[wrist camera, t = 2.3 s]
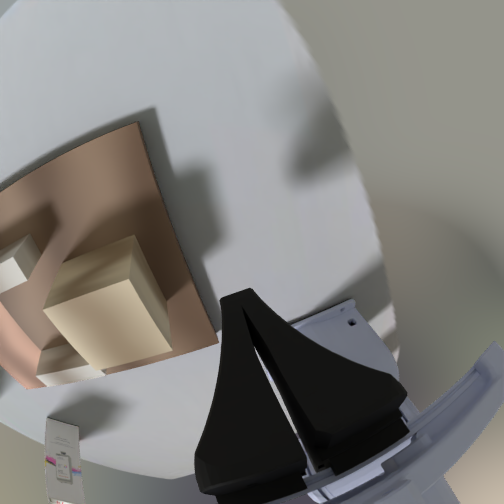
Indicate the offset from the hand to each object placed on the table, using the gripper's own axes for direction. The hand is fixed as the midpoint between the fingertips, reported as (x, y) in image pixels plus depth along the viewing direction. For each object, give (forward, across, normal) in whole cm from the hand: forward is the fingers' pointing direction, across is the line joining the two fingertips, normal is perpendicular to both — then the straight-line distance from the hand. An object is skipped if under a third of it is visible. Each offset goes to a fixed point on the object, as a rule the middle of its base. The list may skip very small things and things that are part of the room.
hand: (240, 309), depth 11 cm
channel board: (+6, +12, 0) cm, 14 cm away
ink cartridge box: (+6, +29, +20) cm, 36 cm away
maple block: (+5, +6, 0) cm, 8 cm away
